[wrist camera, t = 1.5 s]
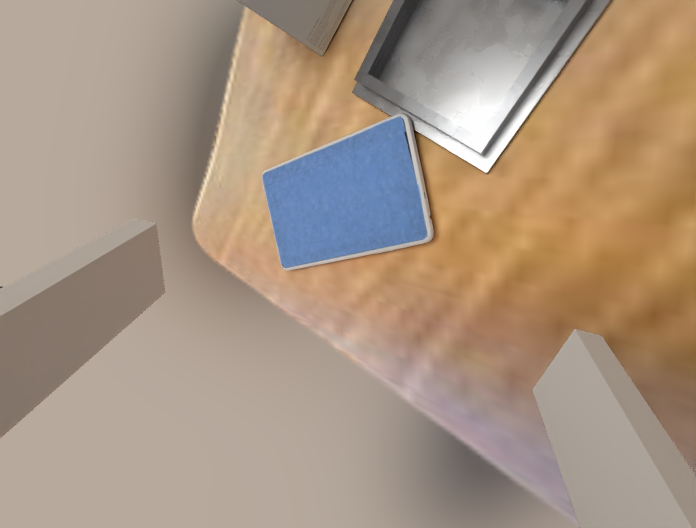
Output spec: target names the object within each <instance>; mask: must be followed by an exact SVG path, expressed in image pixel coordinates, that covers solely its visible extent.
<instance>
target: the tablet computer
mask: <svg viewBox="0 0 696 528" xmlns="http://www.w3.org/2000/svg"><path fill="white" fill-rule="evenodd" d="M262 183H263V187H264V192H265V196H266V201H267V205H268V210H269V214H270V218H271V223H272V228H273V232H274V237H275V241H276V246H277V250H278V255H279V260H280V264H281V266H282V268H283V269H284V270H288V271H290V270H295V269H300V268H305V267H310V266H315V265H320V264H325V263H330V262H335V261H340V260H345V259H350V258H355V257H360V256H365V255H370V254H377V253H382V252H386V251H392V250H395V249H402V248H406V247H410V246H414V245H419V244H424V243H428V242H429V241H431V240H432V238H433V235H434V231H433V225H432V219H431V218H430V215H431V214H430V209H429V203H428V198H427V193H426V188H425V183H424V178H423V173H422V169H421V164H420V159H419V154H418V149H417V145H416V140H415V136H414V131H413V126H412V122H411V119H410V117H409V116H408V115H407V114H396V115H394V116H392V117H389V118H387V119H385V120H382V121H380V122H378V123H375V124H373V125H370V126H368V127H366V128H363V129H361V130H359V131H356V132H354V133H352V134H349V135H347V136H344V137H342V138H340V139H337V140H335V141H333V142H330V143H328V144H325V145H323V146H321V147H318V148H316V149H314V150H311V151H309V152H307V153H304V154H302V155H299V156H297V157H295V158H293V159H290V160H288V161H286V162H283V163H281V164H279V165H276V166H274V167H272V168H269V169H267V170H265V171H264V172H263V174H262Z"/></svg>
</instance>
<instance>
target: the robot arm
mask: <svg viewBox="0 0 696 528" xmlns="http://www.w3.org/2000/svg"><path fill="white" fill-rule="evenodd" d="M164 287H165V286H164V279H163V271H162V263H161V256H160V247H159V240H158V231H157V224H156V223H153V222H149V221H145V220H141V219H136V218H133V219H131V220H129V221H127V222H126V223H123V224H122V225H120V226H118V227H116V228H114V229H112V230H110V231H108V232H107V233H105V234H103V235H101V236H99V237H97V238H95V239H93V240H91V241H89V242H87V243H85V244H84V245H82V246H80V247H78V248H76V249H74V250H72V251H70V252H68V253H67V254H65V255H63V256H61V257H59V258H57V259H55V260H53V261H52V262H49V263H48V264H46V265H44V266H42V267H40V268H38V269H36V270H34V271H33V272H30V273H29V274H27V275H25V276H23V277H21V278H19V279H17V280H15V281H13V282H12V283H10V284H8V285H6V286H4V287H0V438H1V437H2V436H4V435H5V434H6V433H7V432H8V431H9V430H10V429H11V428H13V427H14V426H15V425H16V424H17V423H18V422H19V421H20V420H22V419H23V418H24V417H25V416H26V415H27V414H28V413H30V411H32V410H33V409H34V408H35V407H36V406H37V405H39V404H40V403H41V402H42V401H43V400H44V399H45V398H46V397H47V396H49V395H50V394H51V393H52V392H53V391H54V390H55V389H56V388H58V387H59V386H60V385H61V384H62V383H63V382H65V381H66V380H67V379H68V378H69V377H70V376H71V375H73V374H74V373H75V372H76V371H77V370H78V369H79V368H80V367H82V366H83V365H84V364H85V363H86V362H87V361H88V360H89V359H91V358H92V357H93V356H94V355H95V354H96V353H97V352H99V351H100V350H101V349H102V348H103V347H104V346H105V345H106V344H108V343H109V342H110V341H111V340H112V339H113V338H114V337H115V336H117V335H118V334H119V333H120V332H121V331H122V330H123V329H125V328H126V327H127V326H128V325H129V324H130V323H131V322H132V321H134V320H135V319H136V318H137V317H138V316H139V315H140V314H142V313H143V312H144V311H145V310H146V309H147V308H148V307H149V306H151V305H152V304H153V303H154V302H155V301H156V300H157V299H159V298H160V297H161V296H162V295H163V294H164V293H165V288H164ZM532 391H533V394H534V397H535V399H536V402H537V405H538V408H539V411H540V414H541V417H542V420H543V423H544V426H545V428H546V431H547V434H548V437H549V440H550V443H551V446H552V449H553V452H554V455H555V457H556V460H557V463H558V466H559V469H560V472H561V475H562V478H563V481H564V483H565V486H566V489H567V492H568V495H569V498H570V501H571V504H572V507H573V510H574V512H575V515H576V518H577V521H578V524H579V527H580V528H696V475H695V474H694V472H693V471H692V469H691V468H690V466H689V465H688V463H687V462H686V460H685V459H684V457H683V456H682V454H681V453H680V451H679V450H678V448H677V447H676V445H675V444H674V442H673V441H672V440H671V438H670V437H669V435H668V434H667V432H666V431H665V429H664V428H663V426H662V425H661V423H660V422H659V420H658V419H657V417H656V416H655V414H654V413H653V411H652V410H651V408H650V407H649V405H648V404H647V402H646V401H645V399H644V398H643V396H642V395H641V393H640V392H639V390H638V389H637V388H636V386H635V385H634V383H633V382H632V380H631V379H630V377H629V376H628V374H627V373H626V371H625V370H624V368H623V367H622V365H621V364H620V362H619V361H618V359H617V358H616V356H615V355H614V353H613V352H612V350H611V349H610V347H609V346H608V344H607V343H606V341H605V340H604V339H603V337H602V336H601V335H598V334H594V333H590V332H586V331H582V330H578V329H574V331H573V332H572V333H571V335H570V336H569V338H568V339H567V341H566V342H565V343H564V345H563V346H562V348H561V349H560V351H559V352H558V353H557V355H556V356H555V358H554V359H553V361H552V362H551V364H550V365H549V366H548V368H547V369H546V371H545V372H544V374H543V375H542V376H541V378H540V379H539V381H538V382H537V384H536V385H535V386H534V388H533V389H532Z"/></svg>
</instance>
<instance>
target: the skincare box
mask: <svg viewBox="0 0 696 528" xmlns="http://www.w3.org/2000/svg"><path fill="white" fill-rule="evenodd" d="M237 1H239V2H240V3H242V4H243V5H245V6H246V7H248V8H249V9H251V10H252V11H254V12H255V13H257V14H258V15H260V16H261V17H263V18H264V19H266V20H267V21H269V22H270V23H272V24H273V25H275V26H276V27H278V28H280V29H281V30H283V31H284V32H286V33H287V34H289V35H290V36H292V37H293V38H295V39H296V40H298V41H299V42H301V43H302V44H304V45H305V46H307V47H308V48H310V49H311V50H313V51H314V52H316V53H318V54H319V55H321V56H323V55H324V53H325V51H326V49H327V47H328V45H329V43H330V41H331V39H332V37H333V35H334V33H335V32H336V30H337V28H338V26H339V24H340V22H341V20H342V18H343V16H344V15H345V13H346V11H347V9H348V7H349V5H350V3H351V1H352V0H237Z"/></svg>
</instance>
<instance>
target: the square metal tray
mask: <svg viewBox="0 0 696 528" xmlns="http://www.w3.org/2000/svg"><path fill="white" fill-rule="evenodd" d="M611 1H612V0H393V2H392V4H391V6H390V8H389V10H388V12H387V14H386V16H385V19H384V21H383V23H382V25H381V27H380V29H379V31H378V33H377V35H376V37H375V39H374V41H373V43H372V45H371V47H370V49H369V51H368V53H367V55H366V57H365V59H364V61H363V63H362V65H361V67H360V69H359V71H358V73H357V75H356V77H355V79H354V80H355V81H357V83H356V85H355V87H354V89H353V91H352V93H354V94H355V95H357V96H358V97H360V98H362V99H363V100H365V101H367V102H368V103H370V104H372V105H373V106H375V107H377V108H378V109H380V110H382V111H383V112H385V113H387V114H388V115H390V116H394V115H396V114H407V115H408V116H409V117H410V119H411V122H412V126H413V129H414V130H415V131H417V132H419V133H420V134H422V135H424V136H425V137H427V138H429V139H430V140H432V141H434V142H435V143H437V144H439V145H440V146H442V147H444V148H445V149H447V150H449V151H450V152H452V153H454V154H455V155H457V156H459V157H460V158H462V159H464V160H465V161H467V162H469V163H470V164H472V165H474V166H475V167H477V168H479V169H480V170H482V171H484V172H485V173H487V174H488V173H489V171H490V170H491V169H492V167H493V166H494V164H495V163H496V162H497V160H498V159H499V157H500V156H501V155H502V153H503V152H504V150H505V149H506V148H507V146H508V145H509V143H510V142H511V141H512V139H513V138H514V136H515V135H516V134H517V132H518V131H519V129H520V128H521V127H522V125H523V124H524V122H525V121H526V120H527V118H528V117H529V115H530V114H531V113H532V111H533V110H534V108H535V107H536V106H537V104H538V103H539V101H540V100H541V99H542V97H543V96H544V94H545V93H546V92H547V90H548V89H549V87H550V86H551V85H552V83H553V82H554V80H555V79H556V78H557V76H558V75H559V74H560V72H561V71H562V69H563V68H564V67H565V65H566V64H567V62H568V61H569V60H570V58H571V57H572V55H573V54H574V53H575V51H576V50H577V48H578V47H579V46H580V44H581V43H582V41H583V40H584V39H585V37H586V36H587V34H588V33H589V32H590V30H591V29H592V27H593V26H594V25H595V23H596V22H597V20H598V19H599V18H600V16H601V15H602V13H603V12H604V11H605V9H606V8H607V6H608V5H609V4H610V2H611Z"/></svg>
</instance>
